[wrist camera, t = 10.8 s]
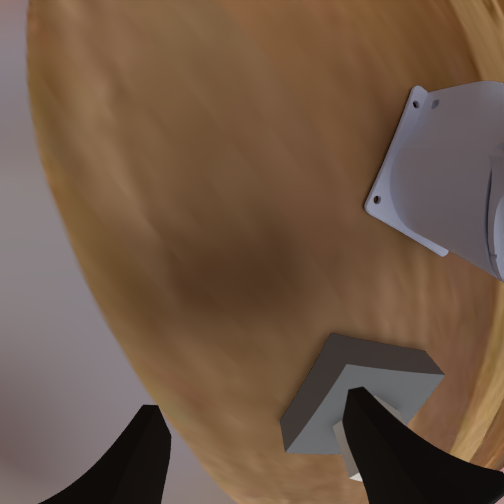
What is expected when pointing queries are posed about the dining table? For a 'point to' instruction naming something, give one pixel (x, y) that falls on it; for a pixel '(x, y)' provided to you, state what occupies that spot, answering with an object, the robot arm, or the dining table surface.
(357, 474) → the top block
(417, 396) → the base block
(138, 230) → the dining table surface
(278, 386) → the dining table surface
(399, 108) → the dining table surface
